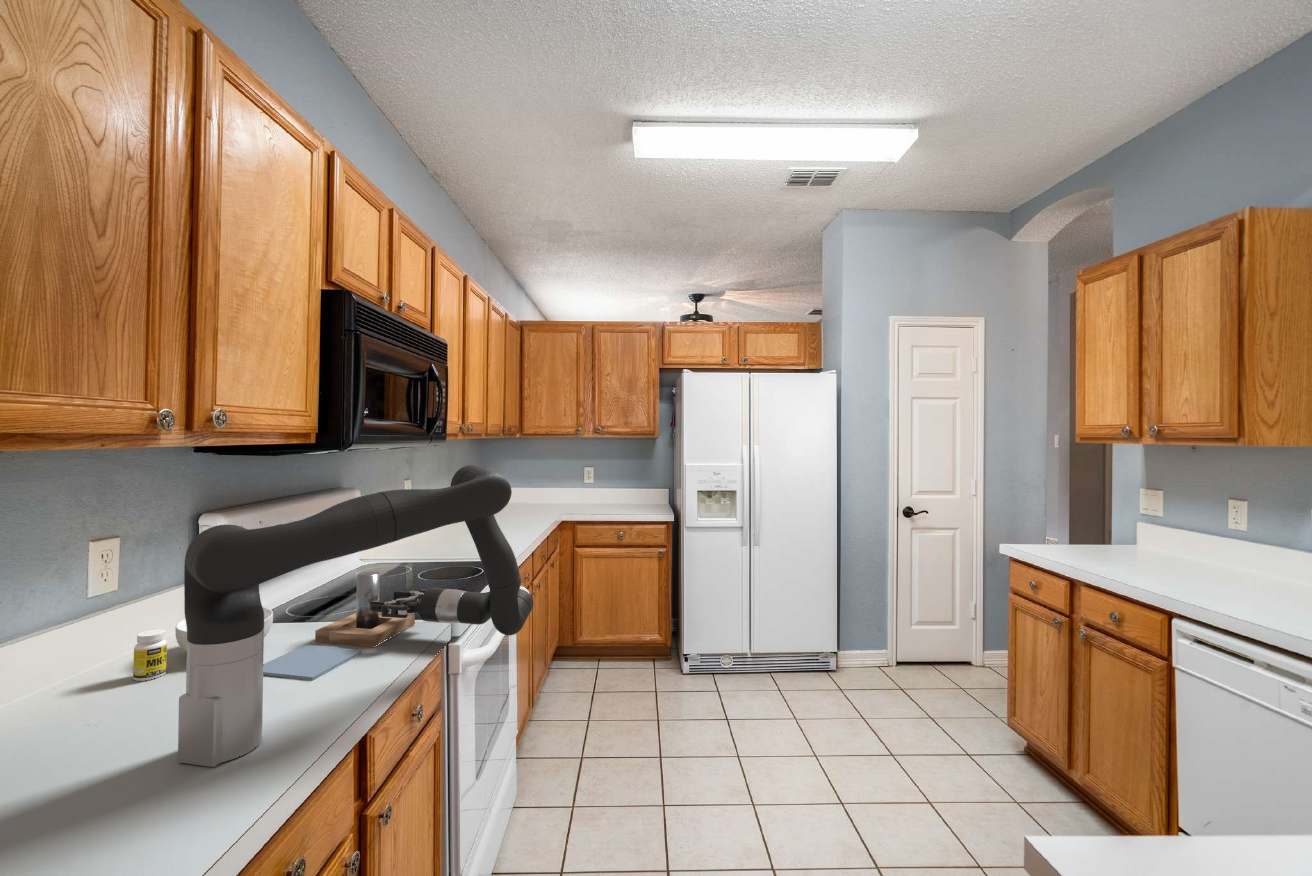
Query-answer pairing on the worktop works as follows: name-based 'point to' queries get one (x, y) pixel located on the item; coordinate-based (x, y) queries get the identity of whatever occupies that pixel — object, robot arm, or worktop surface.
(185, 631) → the cereal bowl
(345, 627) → the frame
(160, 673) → the supplement bottle
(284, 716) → the worktop surface
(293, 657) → the mat
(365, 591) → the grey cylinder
